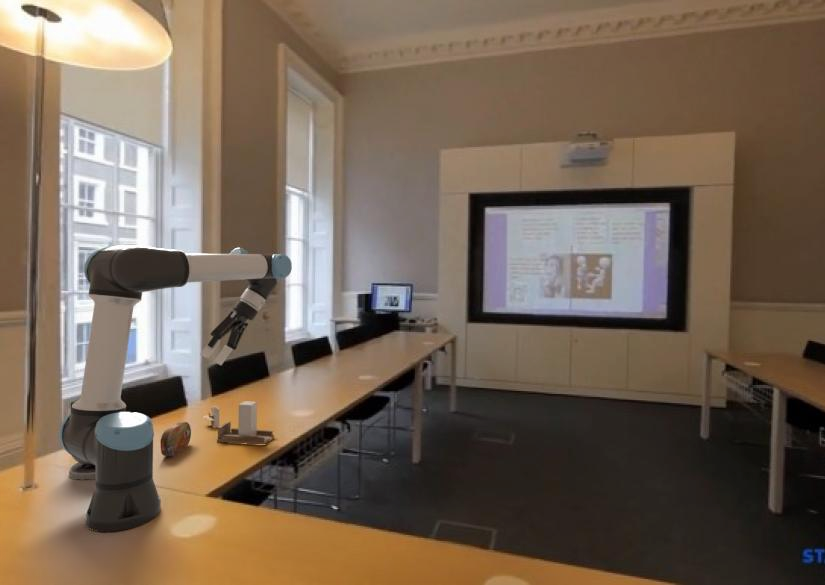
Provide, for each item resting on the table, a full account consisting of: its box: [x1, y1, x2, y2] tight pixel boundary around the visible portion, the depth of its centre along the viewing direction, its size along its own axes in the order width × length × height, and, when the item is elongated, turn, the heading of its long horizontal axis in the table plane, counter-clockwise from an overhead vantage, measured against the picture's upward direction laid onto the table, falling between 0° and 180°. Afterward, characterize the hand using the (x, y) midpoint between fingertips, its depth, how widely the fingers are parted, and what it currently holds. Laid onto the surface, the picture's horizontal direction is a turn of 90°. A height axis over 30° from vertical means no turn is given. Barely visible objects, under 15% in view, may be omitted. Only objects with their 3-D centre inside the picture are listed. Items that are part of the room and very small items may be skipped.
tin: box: [159, 421, 192, 457], centre depth 155 cm, size 15×3×8 cm, turn 179°
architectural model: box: [202, 405, 220, 428], centre depth 181 cm, size 3×7×7 cm, turn 44°
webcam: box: [68, 454, 96, 480], centre depth 138 cm, size 13×13×15 cm
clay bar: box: [237, 400, 258, 437], centre depth 167 cm, size 4×4×12 cm
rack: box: [216, 420, 275, 445], centre depth 167 cm, size 8×17×5 cm, turn 83°
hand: (210, 360), depth 155 cm, fingers open, 13 cm apart
